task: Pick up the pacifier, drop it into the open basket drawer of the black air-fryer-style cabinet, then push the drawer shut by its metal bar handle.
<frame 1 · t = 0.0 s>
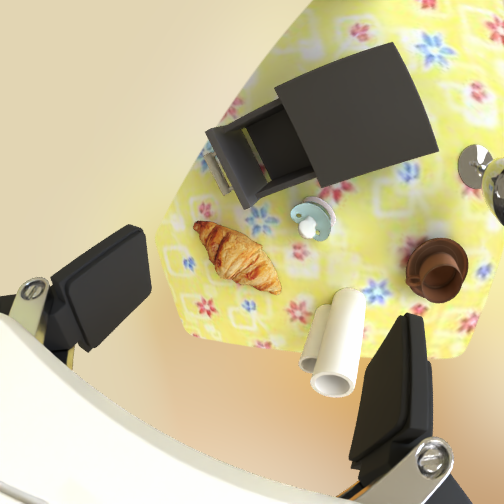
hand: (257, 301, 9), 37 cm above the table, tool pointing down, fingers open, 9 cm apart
cabinet: (359, 113, 36), on the table
cup and saucer: (435, 264, 42), on the table
pacifier: (316, 214, 47), on the table
drawer: (265, 150, 39), point 5 cm above the table, slide at 10.5 cm
croissant: (242, 253, 56), on the table
vase: (341, 308, 54), on the table
wine glass: (476, 166, 32), on the table
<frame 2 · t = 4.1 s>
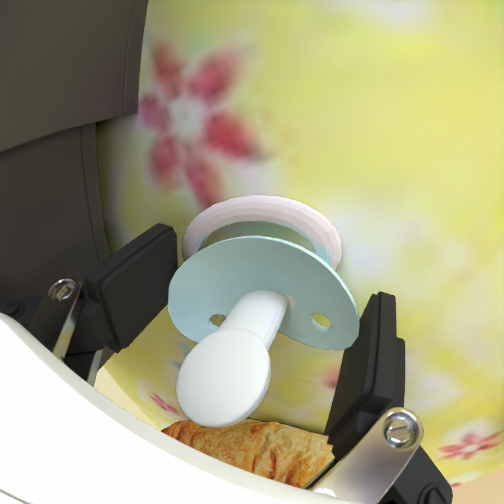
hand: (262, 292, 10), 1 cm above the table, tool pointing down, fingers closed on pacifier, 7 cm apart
pacifier: (266, 263, 11), on the table, touching gripper
drawer: (3, 262, 11), point 5 cm above the table, slide at 10.5 cm
croissant: (271, 438, 20), on the table
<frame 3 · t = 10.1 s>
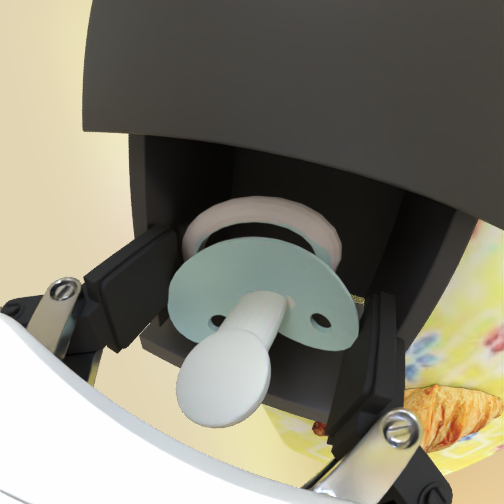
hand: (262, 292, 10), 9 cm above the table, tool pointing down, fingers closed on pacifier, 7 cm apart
cabinet: (347, 5, 10), on the table
pacifier: (266, 263, 11), point 8 cm above the table, touching gripper
drawer: (287, 271, 14), point 5 cm above the table, slide at 10.5 cm
croissant: (413, 406, 22), on the table
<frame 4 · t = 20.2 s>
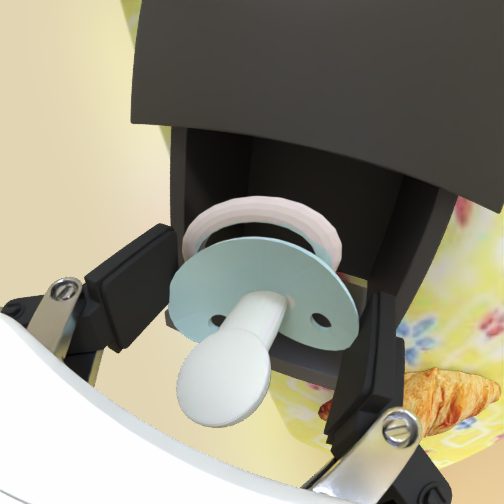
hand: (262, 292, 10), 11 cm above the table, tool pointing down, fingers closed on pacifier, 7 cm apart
cabinet: (351, 19, 12), on the table
pacifier: (266, 263, 11), point 10 cm above the table, touching gripper
drawer: (300, 251, 16), point 5 cm above the table, slide at 10.5 cm
croissant: (414, 391, 24), on the table
when the fingers open (12 cm above the table, at t = 29.6 s): pacifier drops 8 cm, resting on drawer.
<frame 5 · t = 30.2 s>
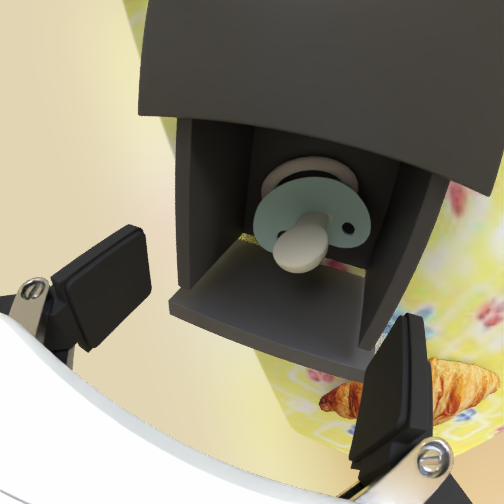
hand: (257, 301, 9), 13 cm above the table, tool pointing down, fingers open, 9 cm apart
cabinet: (348, 17, 13), on the table
pacifier: (313, 199, 18), point 2 cm above the table, touching drawer
drawer: (300, 240, 16), point 5 cm above the table, slide at 10.5 cm, touching pacifier
croissant: (414, 382, 25), on the table
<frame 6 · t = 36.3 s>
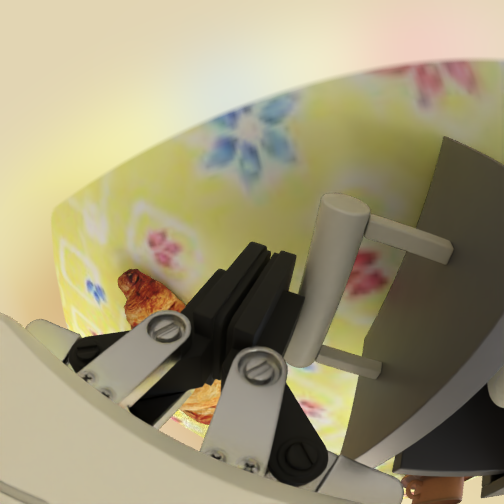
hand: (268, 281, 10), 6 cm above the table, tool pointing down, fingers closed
cup and saucer: (441, 466, 23), on the table
pacifier: (503, 297, 10), point 2 cm above the table, touching drawer
drawer: (502, 340, 8), point 5 cm above the table, slide at 8.7 cm, touching pacifier
croissant: (200, 351, 26), on the table
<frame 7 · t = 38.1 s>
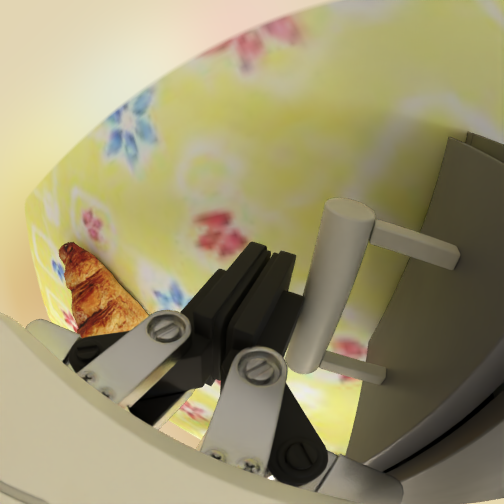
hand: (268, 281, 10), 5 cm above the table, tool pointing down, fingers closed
croissant: (133, 319, 28), on the table
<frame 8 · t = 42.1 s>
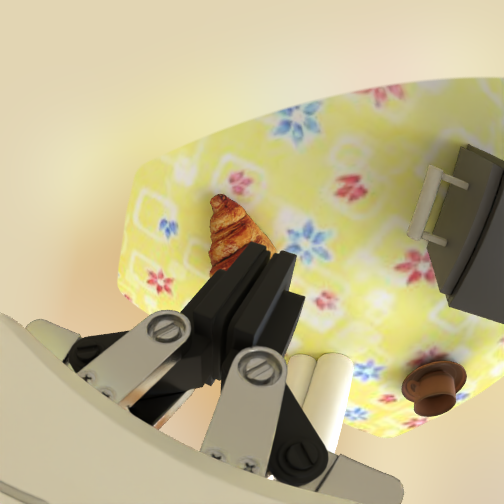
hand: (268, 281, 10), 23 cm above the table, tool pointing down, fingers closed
cabinet: (500, 222, 23), on the table
cup and saucer: (434, 375, 37), on the table
drawer: (493, 230, 20), point 5 cm above the table, slide at 0.0 cm, touching pacifier
croissant: (252, 260, 40), on the table
vase: (322, 366, 45), on the table
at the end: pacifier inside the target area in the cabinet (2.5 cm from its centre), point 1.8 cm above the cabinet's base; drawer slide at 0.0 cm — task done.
